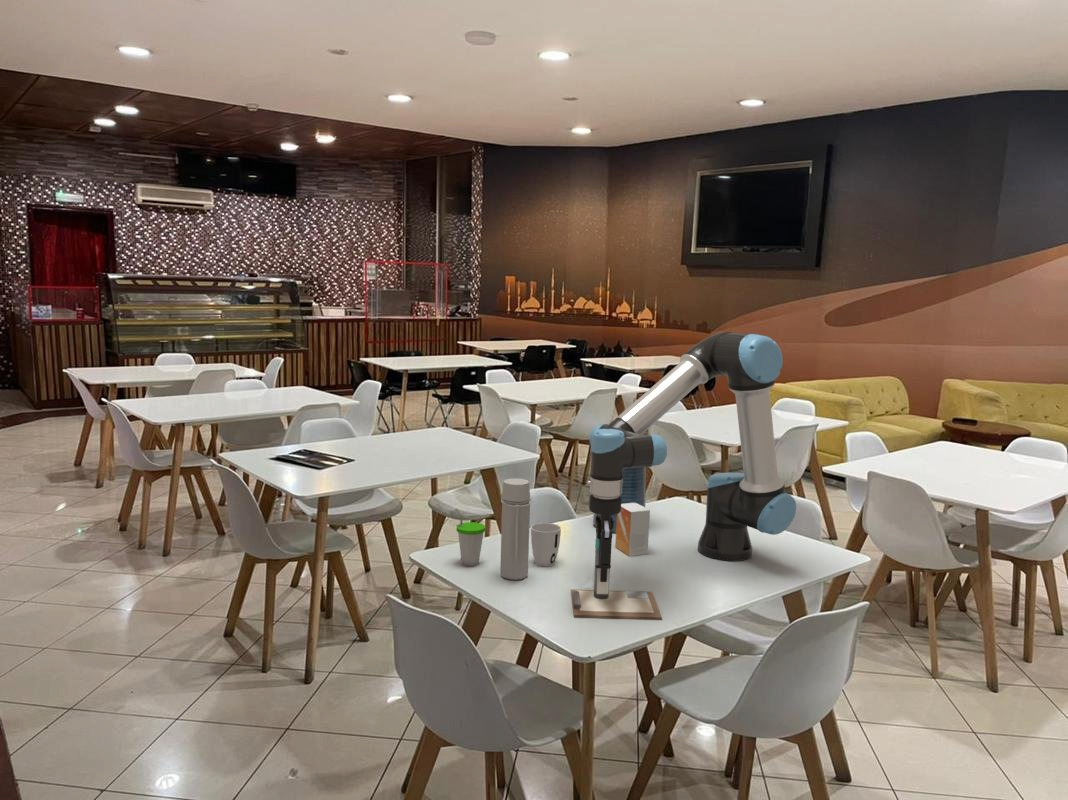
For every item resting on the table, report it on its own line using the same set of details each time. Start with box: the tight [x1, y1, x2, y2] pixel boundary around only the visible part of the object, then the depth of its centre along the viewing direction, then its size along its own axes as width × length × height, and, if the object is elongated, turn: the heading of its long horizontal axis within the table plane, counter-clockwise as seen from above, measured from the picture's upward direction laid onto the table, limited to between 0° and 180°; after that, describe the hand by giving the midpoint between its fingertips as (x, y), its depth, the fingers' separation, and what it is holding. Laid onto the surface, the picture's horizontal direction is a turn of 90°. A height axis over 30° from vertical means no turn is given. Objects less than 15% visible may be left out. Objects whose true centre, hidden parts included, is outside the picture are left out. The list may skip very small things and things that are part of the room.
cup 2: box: [530, 522, 562, 567], centre depth 209 cm, size 8×8×10 cm
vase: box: [592, 467, 647, 534], centre depth 242 cm, size 16×16×32 cm
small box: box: [614, 503, 651, 557], centre depth 221 cm, size 8×6×13 cm
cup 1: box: [455, 507, 486, 568], centre depth 206 cm, size 8×8×15 cm
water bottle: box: [499, 477, 533, 581], centre depth 197 cm, size 9×8×25 cm
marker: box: [593, 537, 611, 599], centre depth 185 cm, size 4×4×14 cm
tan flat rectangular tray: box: [570, 588, 663, 621], centre depth 183 cm, size 20×15×2 cm
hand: (601, 589), depth 186 cm, fingers closed on marker, 3 cm apart
